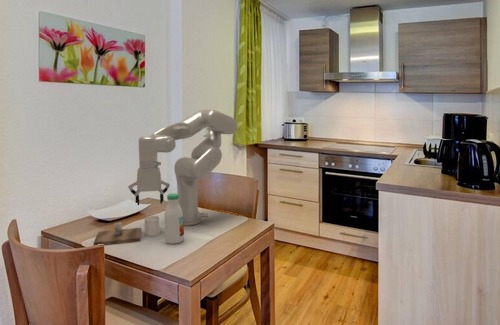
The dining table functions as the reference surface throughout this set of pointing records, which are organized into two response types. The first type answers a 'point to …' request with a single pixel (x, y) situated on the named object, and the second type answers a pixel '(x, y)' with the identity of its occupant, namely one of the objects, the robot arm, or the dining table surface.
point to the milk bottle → (173, 220)
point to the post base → (117, 239)
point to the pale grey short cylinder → (152, 225)
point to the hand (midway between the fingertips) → (149, 203)
